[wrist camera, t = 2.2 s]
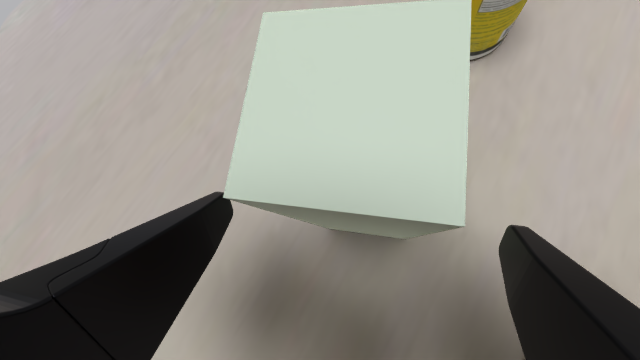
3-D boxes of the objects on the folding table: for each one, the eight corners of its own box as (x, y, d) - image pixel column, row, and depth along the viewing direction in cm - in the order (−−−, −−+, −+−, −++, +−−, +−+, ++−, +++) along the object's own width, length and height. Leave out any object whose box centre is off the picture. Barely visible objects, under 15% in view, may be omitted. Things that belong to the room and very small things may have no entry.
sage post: (404, 239, 17) (465, 226, 5) (329, 228, 18) (222, 197, 6) (410, 165, 18) (471, -4, 6) (338, 160, 19) (263, 12, 7)
